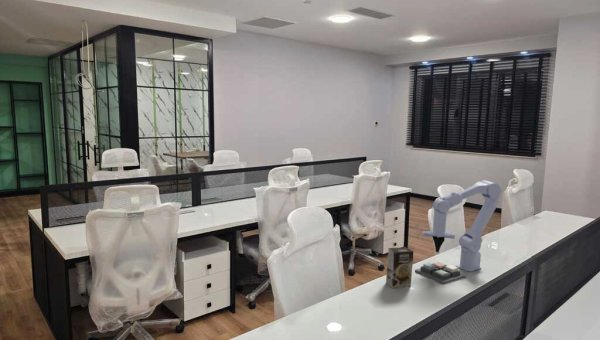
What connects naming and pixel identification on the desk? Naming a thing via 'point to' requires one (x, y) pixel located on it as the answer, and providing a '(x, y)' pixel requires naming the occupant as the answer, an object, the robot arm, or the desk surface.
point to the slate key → (429, 266)
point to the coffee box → (399, 267)
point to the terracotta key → (439, 264)
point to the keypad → (438, 277)
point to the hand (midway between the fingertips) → (437, 251)
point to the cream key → (451, 268)
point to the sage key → (441, 272)
